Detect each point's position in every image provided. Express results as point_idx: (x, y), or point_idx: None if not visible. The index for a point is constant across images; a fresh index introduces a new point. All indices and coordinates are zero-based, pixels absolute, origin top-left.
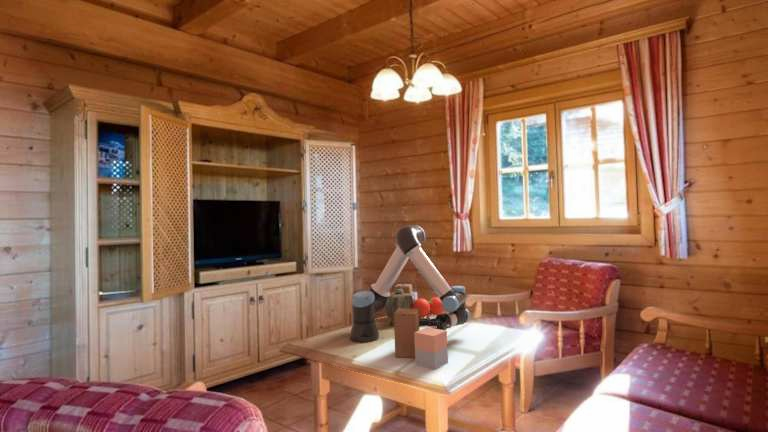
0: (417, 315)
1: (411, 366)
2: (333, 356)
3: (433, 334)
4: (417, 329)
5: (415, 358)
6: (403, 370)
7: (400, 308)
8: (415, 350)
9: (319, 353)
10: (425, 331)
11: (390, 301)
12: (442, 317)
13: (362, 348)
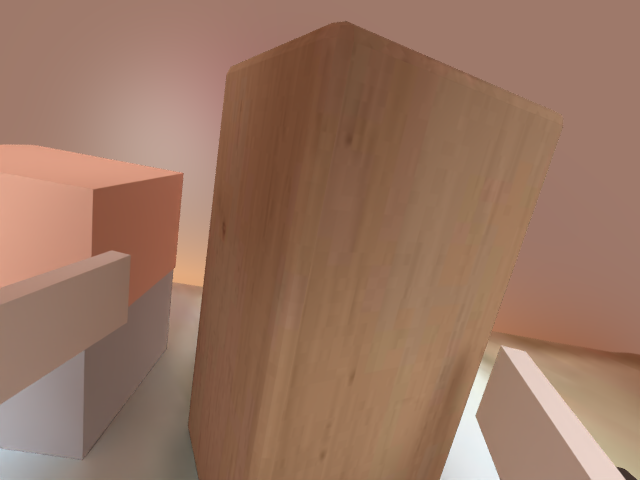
0: (253, 111)
1: (181, 330)
2: (521, 339)
3: (35, 148)
4: (224, 263)
5: (167, 318)
6: (201, 302)
7: (536, 103)
8: (170, 276)
9: (583, 347)
10: (103, 167)
11: None
12: None
13: (609, 451)
